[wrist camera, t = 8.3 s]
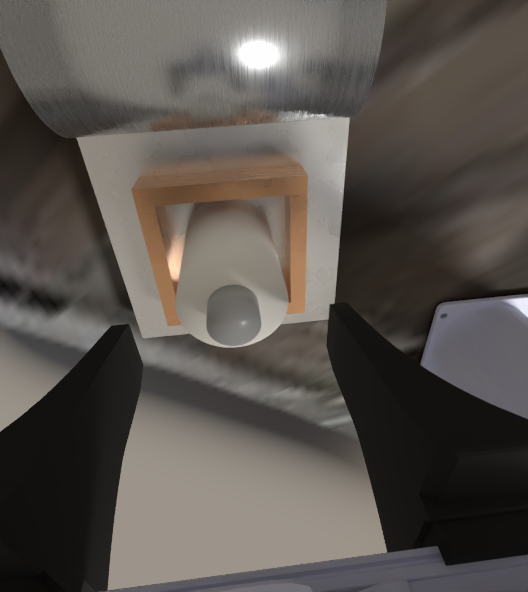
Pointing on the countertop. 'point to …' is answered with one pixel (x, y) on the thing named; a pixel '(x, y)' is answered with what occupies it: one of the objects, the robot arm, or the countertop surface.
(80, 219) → the countertop surface
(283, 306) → the white bottle
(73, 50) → the white rectangular base assembly
